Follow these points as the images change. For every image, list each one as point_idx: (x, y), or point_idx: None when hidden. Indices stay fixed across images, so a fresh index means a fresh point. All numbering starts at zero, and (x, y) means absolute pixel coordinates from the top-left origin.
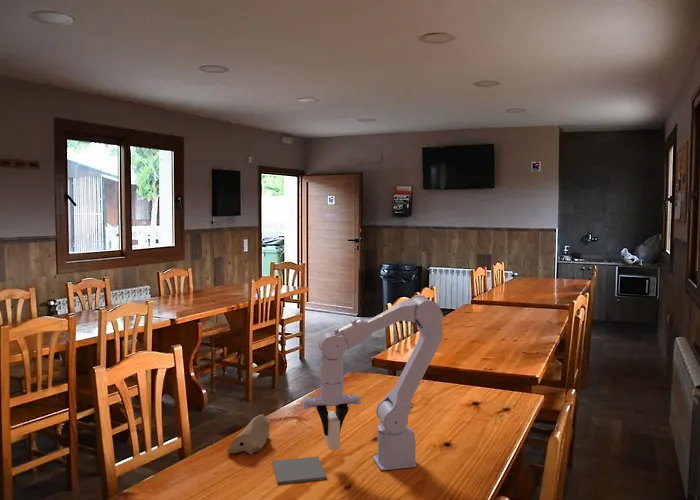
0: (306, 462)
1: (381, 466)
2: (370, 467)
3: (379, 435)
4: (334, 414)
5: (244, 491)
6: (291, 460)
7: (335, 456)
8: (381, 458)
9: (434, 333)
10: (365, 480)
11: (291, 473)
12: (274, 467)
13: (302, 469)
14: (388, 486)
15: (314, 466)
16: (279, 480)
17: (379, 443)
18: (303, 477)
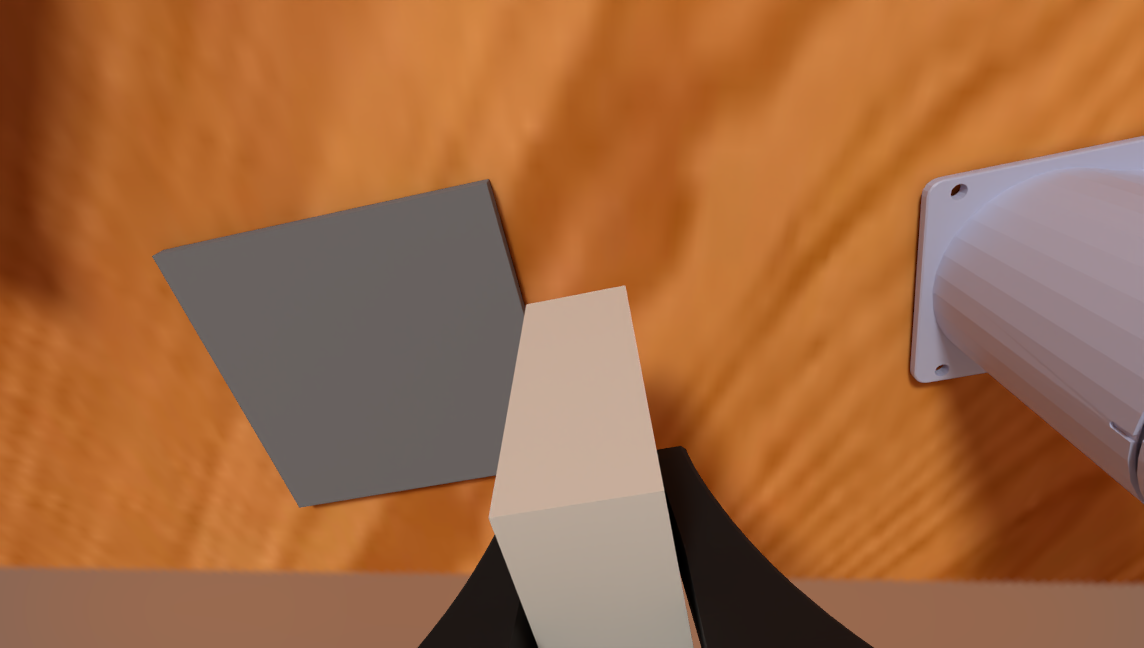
0: (412, 285)
1: (931, 352)
2: (856, 323)
3: (1099, 445)
4: (668, 624)
5: (166, 548)
6: (292, 251)
7: (626, 136)
8: (968, 350)
9: None
10: (782, 468)
11: (349, 427)
12: (212, 352)
13: (405, 382)
14: (886, 522)
15: (478, 345)
16: (305, 495)
17: (1039, 395)
18: (431, 468)
